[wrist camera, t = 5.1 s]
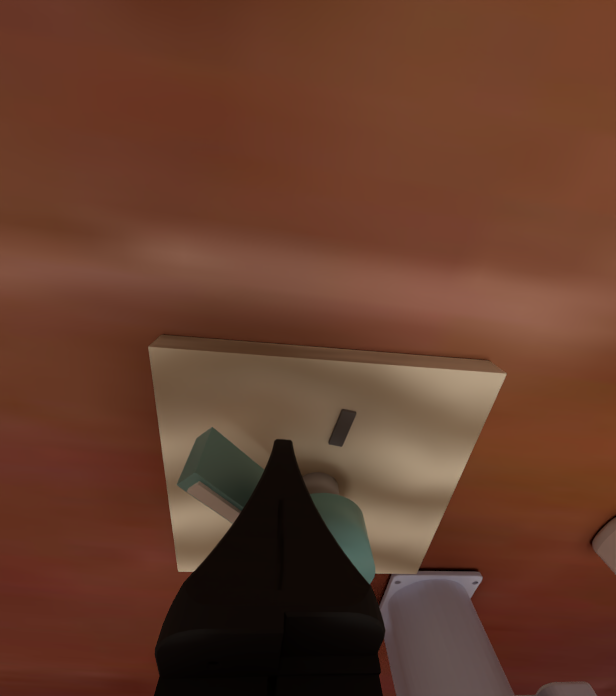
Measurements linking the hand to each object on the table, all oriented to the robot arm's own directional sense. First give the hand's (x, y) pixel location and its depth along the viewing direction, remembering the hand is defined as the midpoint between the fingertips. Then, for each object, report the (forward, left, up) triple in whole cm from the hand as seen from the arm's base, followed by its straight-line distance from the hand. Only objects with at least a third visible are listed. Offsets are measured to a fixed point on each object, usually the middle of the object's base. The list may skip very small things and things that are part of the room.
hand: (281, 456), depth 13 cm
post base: (-5, -2, -4) cm, 7 cm away
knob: (-3, 0, -1) cm, 3 cm away
